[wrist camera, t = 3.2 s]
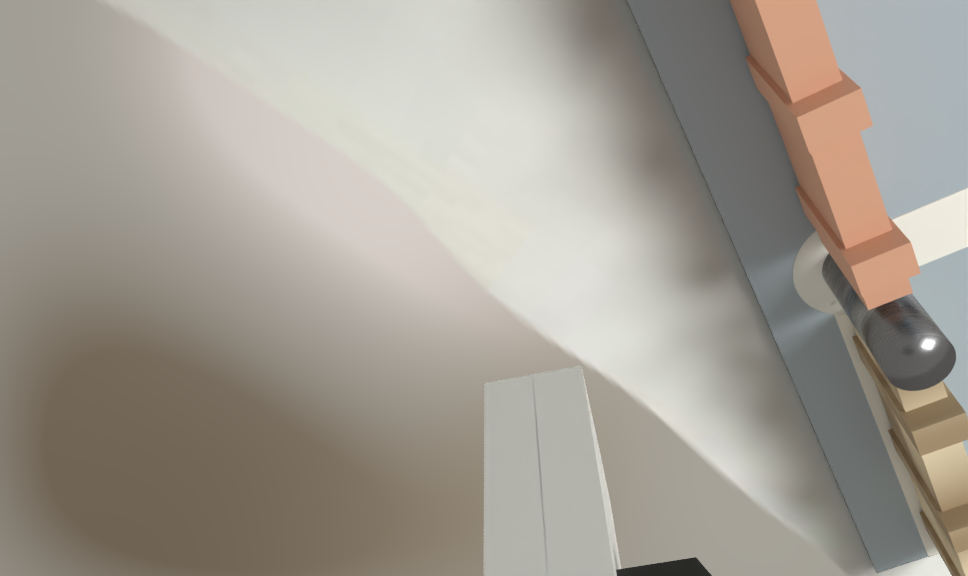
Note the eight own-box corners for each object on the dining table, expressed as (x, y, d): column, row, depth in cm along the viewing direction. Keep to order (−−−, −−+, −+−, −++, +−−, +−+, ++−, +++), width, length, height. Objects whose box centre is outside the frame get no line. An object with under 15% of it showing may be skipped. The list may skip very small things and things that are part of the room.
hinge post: (811, 250, 28) (877, 351, 23) (867, 226, 28) (946, 324, 23) (828, 293, 29) (895, 400, 24) (883, 271, 29) (963, 375, 24)
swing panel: (864, 222, 27) (931, 306, 23) (816, 243, 28) (873, 328, 23) (728, -170, 22) (783, -153, 18) (670, -138, 22) (711, -114, 18)
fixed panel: (842, 311, 29) (901, 404, 25) (888, 293, 29) (956, 384, 24) (933, 548, 34) (993, 656, 30) (973, 535, 34) (1040, 643, 30)
